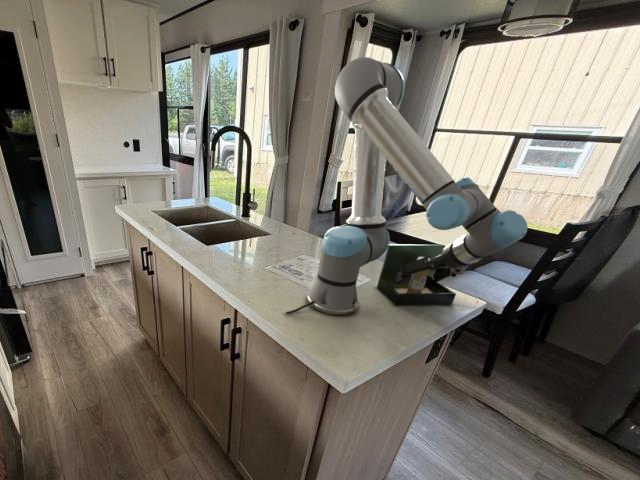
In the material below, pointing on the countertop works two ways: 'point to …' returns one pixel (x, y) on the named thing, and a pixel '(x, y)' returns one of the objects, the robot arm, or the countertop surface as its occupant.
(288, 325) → the countertop surface
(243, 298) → the countertop surface
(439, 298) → the box
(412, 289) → the sprinkles bottle
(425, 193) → the robot arm
